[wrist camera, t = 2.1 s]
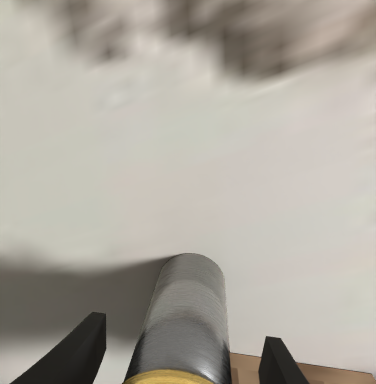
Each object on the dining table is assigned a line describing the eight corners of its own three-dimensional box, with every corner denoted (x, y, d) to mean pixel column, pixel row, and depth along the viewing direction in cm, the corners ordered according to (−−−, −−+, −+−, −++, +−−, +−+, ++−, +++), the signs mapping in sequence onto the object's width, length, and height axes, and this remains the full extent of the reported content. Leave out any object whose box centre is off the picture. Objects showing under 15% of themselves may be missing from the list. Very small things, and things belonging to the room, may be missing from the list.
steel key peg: (232, 255, 14) (255, 411, 7) (223, 316, 16) (233, 505, 8) (157, 246, 15) (98, 386, 7) (154, 306, 16) (101, 480, 8)
